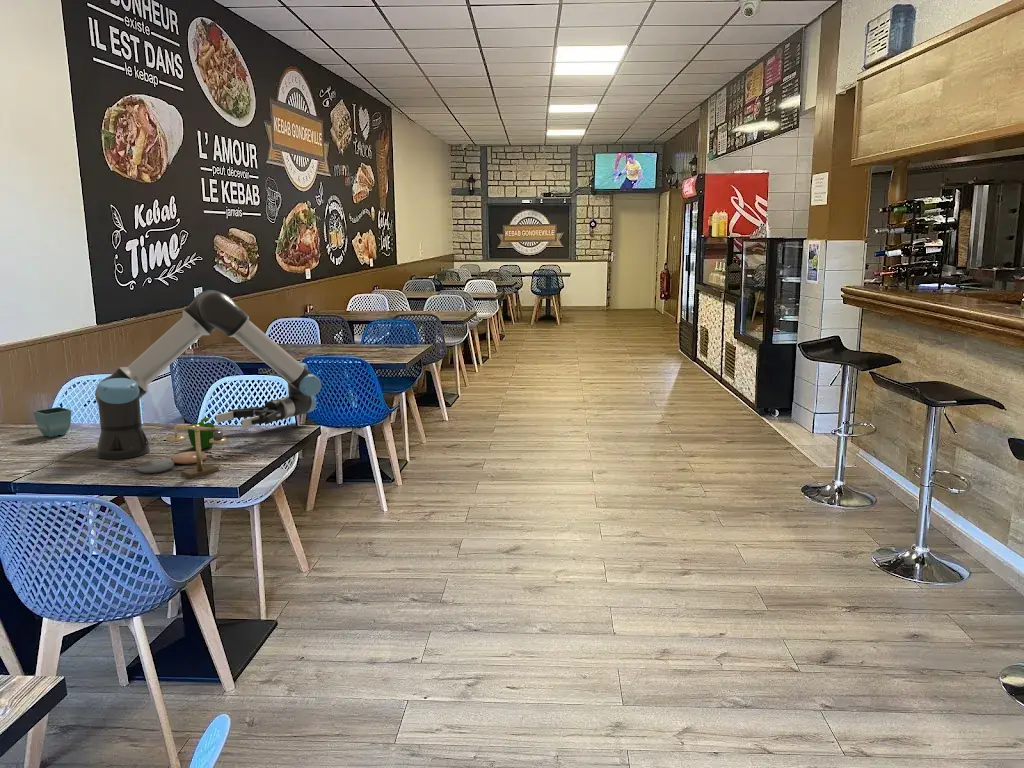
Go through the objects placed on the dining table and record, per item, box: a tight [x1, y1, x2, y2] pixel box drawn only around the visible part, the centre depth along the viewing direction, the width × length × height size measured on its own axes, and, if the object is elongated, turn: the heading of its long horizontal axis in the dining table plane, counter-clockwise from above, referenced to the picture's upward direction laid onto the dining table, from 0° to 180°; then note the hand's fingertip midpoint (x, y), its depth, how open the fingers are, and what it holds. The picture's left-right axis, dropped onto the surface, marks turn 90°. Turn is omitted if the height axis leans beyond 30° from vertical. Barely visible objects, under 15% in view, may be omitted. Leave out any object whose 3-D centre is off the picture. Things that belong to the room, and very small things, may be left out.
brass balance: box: [166, 424, 228, 479], centre depth 217 cm, size 5×18×16 cm, turn 148°
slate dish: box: [136, 459, 175, 474], centre depth 221 cm, size 10×10×2 cm
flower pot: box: [33, 406, 72, 438], centre depth 259 cm, size 9×9×9 cm
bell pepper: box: [187, 417, 216, 450], centre depth 245 cm, size 8×8×10 cm
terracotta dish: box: [170, 450, 207, 465], centre depth 230 cm, size 10×10×2 cm
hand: (229, 421), depth 253 cm, fingers open, 13 cm apart
